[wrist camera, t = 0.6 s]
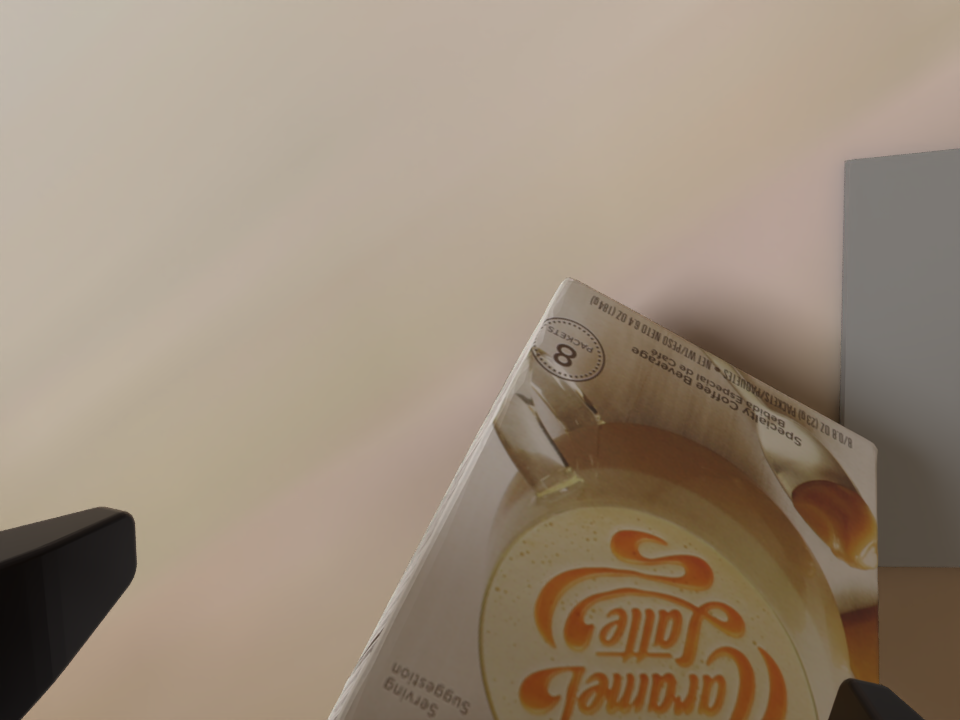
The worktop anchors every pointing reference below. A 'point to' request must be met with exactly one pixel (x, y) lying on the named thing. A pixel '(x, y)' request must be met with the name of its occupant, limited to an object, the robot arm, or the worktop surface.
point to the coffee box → (634, 545)
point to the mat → (905, 346)
